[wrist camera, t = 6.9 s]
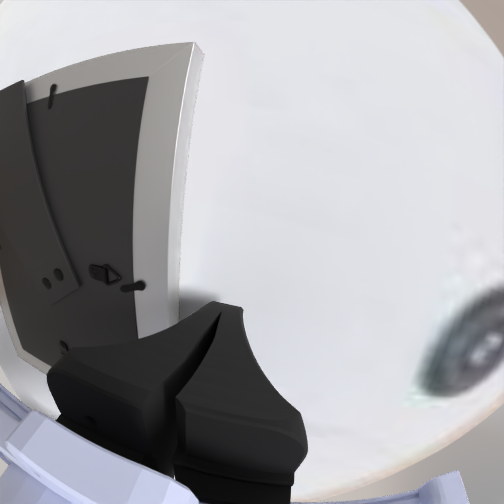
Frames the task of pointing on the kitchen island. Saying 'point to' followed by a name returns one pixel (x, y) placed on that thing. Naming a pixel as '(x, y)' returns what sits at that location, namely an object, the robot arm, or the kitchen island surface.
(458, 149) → the kitchen island surface
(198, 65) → the picture frame
